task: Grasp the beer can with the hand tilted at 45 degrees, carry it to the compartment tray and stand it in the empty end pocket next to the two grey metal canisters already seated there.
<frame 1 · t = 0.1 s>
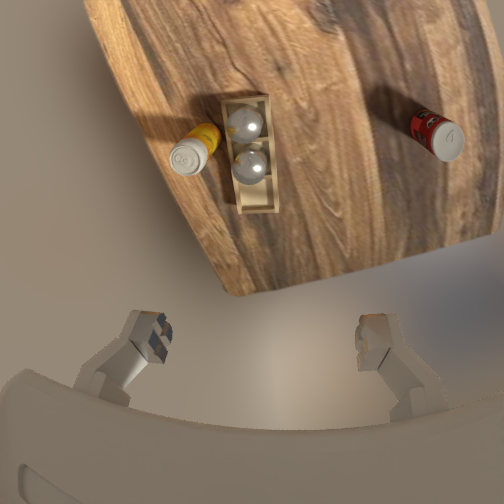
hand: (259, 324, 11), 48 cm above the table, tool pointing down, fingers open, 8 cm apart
seated canisters: (248, 143, 48), point 6 cm above the table
compartment tray: (253, 153, 54), on the table
canned food: (423, 125, 45), on the table
beer can: (207, 135, 53), on the table
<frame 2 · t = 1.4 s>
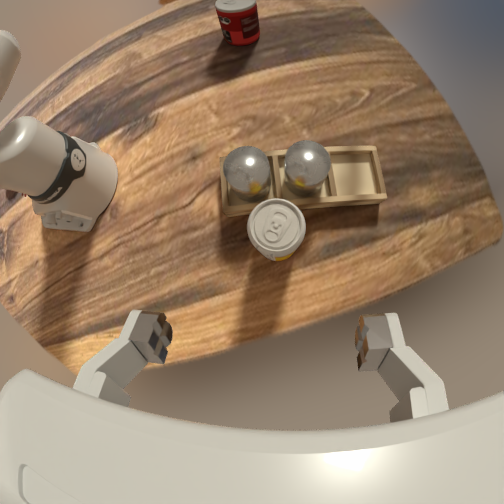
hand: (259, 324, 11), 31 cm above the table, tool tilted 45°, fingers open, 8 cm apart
seated canisters: (277, 172, 37), point 6 cm above the table
compartment tray: (302, 182, 42), on the table
canned food: (242, 37, 46), on the table
beer can: (277, 241, 42), on the table
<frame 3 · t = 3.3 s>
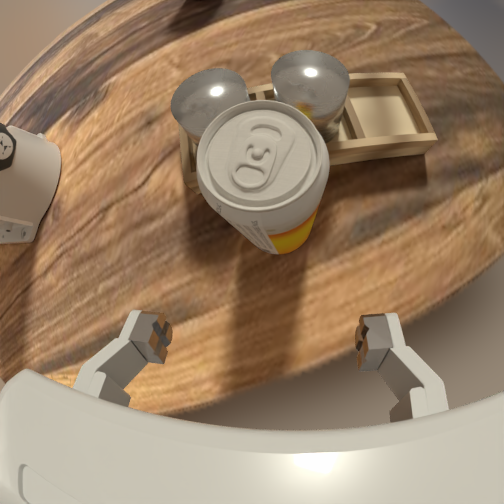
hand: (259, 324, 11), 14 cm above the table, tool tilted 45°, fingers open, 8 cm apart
seated canisters: (264, 107, 21), point 6 cm above the table
compartment tray: (307, 130, 26), on the table
beer can: (278, 222, 26), on the table
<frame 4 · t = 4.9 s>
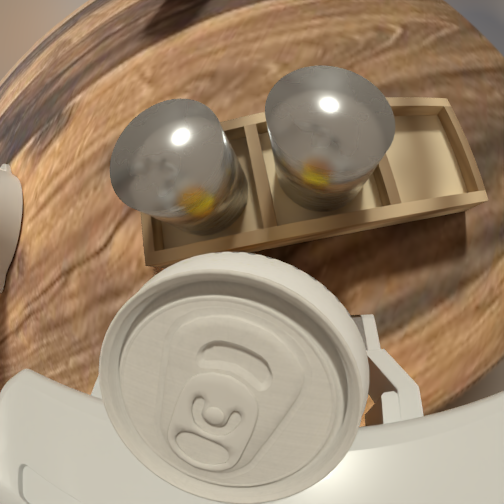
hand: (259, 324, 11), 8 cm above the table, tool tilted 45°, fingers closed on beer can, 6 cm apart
seated canisters: (255, 158, 15), point 6 cm above the table
compartment tray: (318, 179, 19), on the table
beer can: (274, 313, 19), on the table, touching gripper
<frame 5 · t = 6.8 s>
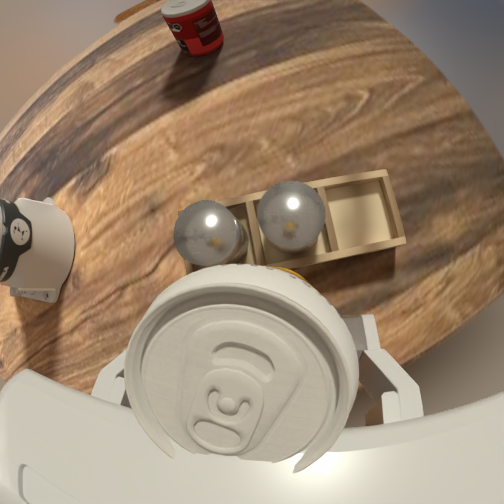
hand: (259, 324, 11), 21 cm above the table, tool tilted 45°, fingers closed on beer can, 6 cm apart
seated canisters: (252, 229, 28), point 6 cm above the table
compartment tray: (292, 230, 32), on the table
canned food: (203, 44, 38), on the table
beer can: (275, 307, 20), point 12 cm above the table, touching gripper
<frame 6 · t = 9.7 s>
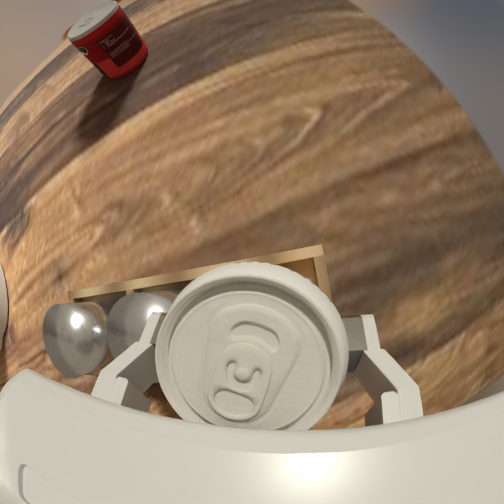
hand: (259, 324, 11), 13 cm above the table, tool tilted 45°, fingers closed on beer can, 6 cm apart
seated canisters: (123, 334, 20), point 6 cm above the table
compartment tray: (191, 321, 25), on the table
canned food: (127, 62, 30), on the table
beer can: (277, 310, 22), point 2 cm above the table, touching gripper, compartment tray
when the fingers open (13 cm above the table, at t = 9.7 s): beer can stays where it is, resting on compartment tray.
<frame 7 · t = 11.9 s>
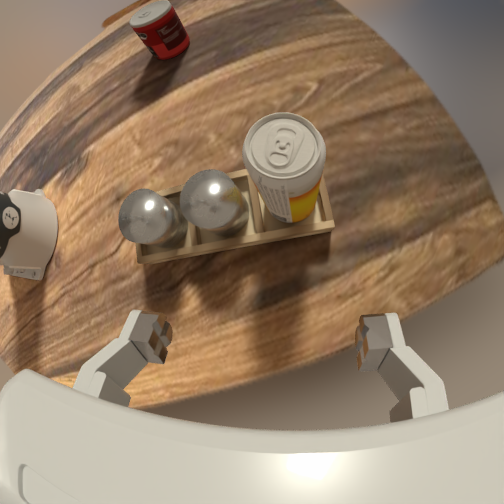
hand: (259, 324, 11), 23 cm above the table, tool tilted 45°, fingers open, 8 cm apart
seated canisters: (184, 213, 31), point 6 cm above the table
compartment tray: (229, 215, 36), on the table
canned food: (172, 48, 41), on the table
beer can: (290, 199, 33), point 2 cm above the table, touching compartment tray
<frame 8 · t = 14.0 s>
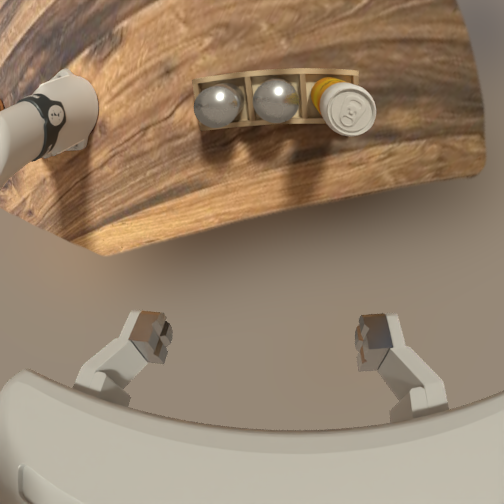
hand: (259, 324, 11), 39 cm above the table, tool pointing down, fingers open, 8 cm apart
seated canisters: (248, 100, 35), point 6 cm above the table
compartment tray: (277, 94, 38), on the table
beer can: (329, 95, 36), point 2 cm above the table, touching compartment tray
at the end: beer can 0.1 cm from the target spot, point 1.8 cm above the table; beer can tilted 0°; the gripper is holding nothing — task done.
